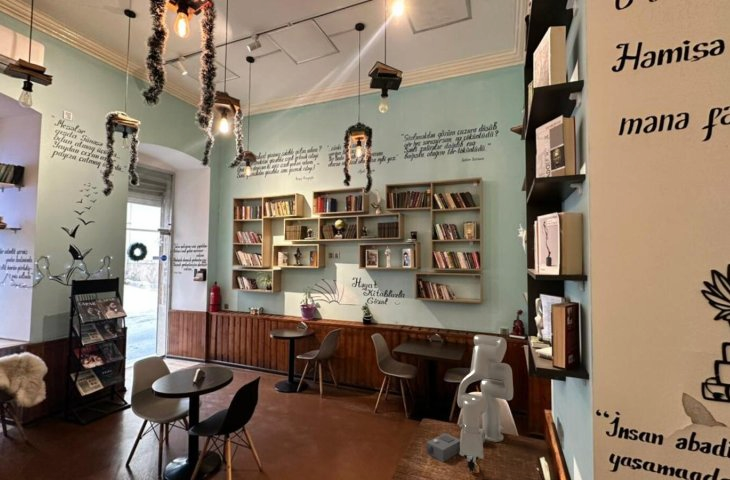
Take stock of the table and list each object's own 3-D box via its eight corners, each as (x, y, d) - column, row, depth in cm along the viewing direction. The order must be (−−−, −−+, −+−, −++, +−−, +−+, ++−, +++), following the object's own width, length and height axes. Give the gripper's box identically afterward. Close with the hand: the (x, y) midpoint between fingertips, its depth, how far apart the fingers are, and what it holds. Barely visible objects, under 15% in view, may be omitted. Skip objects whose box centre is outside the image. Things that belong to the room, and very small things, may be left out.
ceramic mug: (485, 446, 178) (485, 431, 179) (470, 444, 179) (470, 429, 180) (481, 437, 188) (481, 423, 189) (467, 435, 189) (467, 421, 190)
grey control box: (445, 443, 179) (445, 431, 180) (461, 451, 172) (461, 438, 172) (425, 453, 168) (425, 440, 169) (442, 462, 161) (442, 448, 162)
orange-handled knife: (460, 451, 172) (460, 441, 172) (462, 451, 172) (462, 441, 172) (477, 474, 151) (477, 464, 152) (479, 474, 151) (479, 464, 152)
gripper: (455, 429, 153) (455, 471, 151) (489, 433, 150) (489, 476, 148) (454, 422, 161) (454, 462, 158) (486, 426, 157) (486, 467, 155)
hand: (471, 469), depth 153 cm, fingers closed
